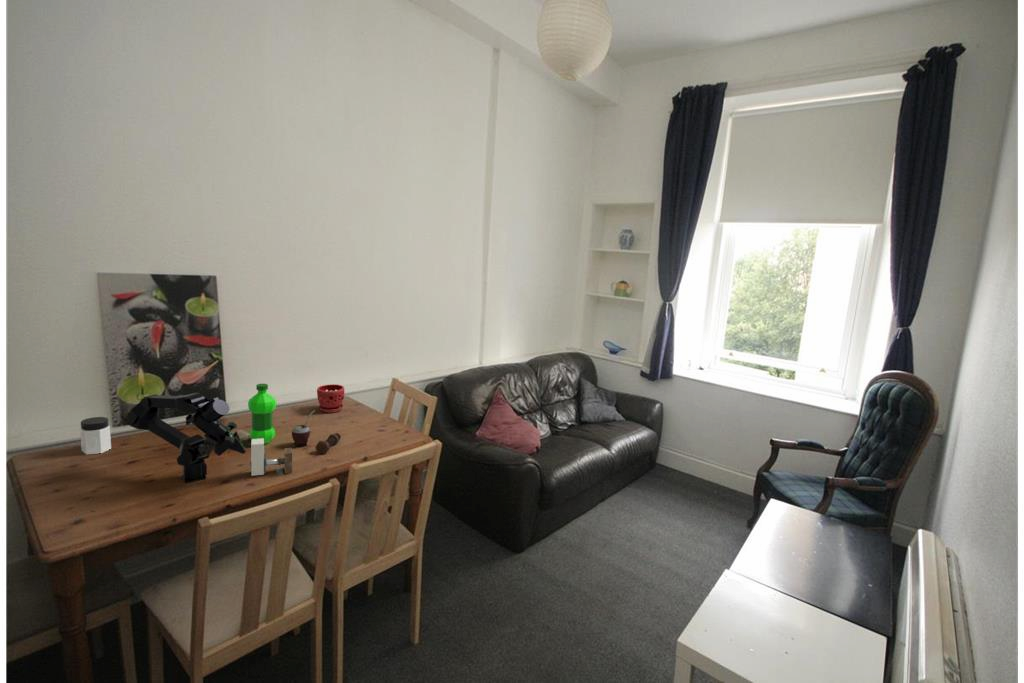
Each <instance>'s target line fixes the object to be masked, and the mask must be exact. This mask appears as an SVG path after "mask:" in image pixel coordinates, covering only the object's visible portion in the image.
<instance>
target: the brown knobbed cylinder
mask: <svg viewBox="0 0 1024 683" xmlns="http://www.w3.org/2000/svg"><path fill="white" fill-rule="evenodd" d="M341 439H342V436H341V435H340V433H338V432H337V433H336V432H335V433H331V434H330V435H329V436H328V437H327V439H326V440H319V441H318V442H317V443H316V445H315V450H316V452H317V453H318V454H323V455H324V454H325V455H326V454H327V453H329V450H330V449H331V447H332V446H336V445H337V444H338V443H339V442H340V440H341Z"/></svg>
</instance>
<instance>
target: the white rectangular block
mask: <svg viewBox="0 0 1024 683" xmlns="http://www.w3.org/2000/svg"><path fill="white" fill-rule="evenodd" d="M250 446H251V448H250V449H251V453H250V455H251V459H250V461H251V467H250V468H251V477H252V476H253V477H254V476H262V475H263V476H264V474H265V473H266V471H267V468H266V467H267V466H266V460H267V454H266V453H265V444H264V438H261V439H251V444H250Z"/></svg>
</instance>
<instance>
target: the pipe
mask: <svg viewBox="0 0 1024 683" xmlns="http://www.w3.org/2000/svg"><path fill="white" fill-rule="evenodd" d="M284 464H285V458H284V457H283V458H281V457H278V458H272V459H271V458H270V459H269V458H267V459H266V467H267V466H277V465H278V466H281V465H284ZM249 467H250V468H251V460H250V461H249Z"/></svg>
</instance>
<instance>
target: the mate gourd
mask: <svg viewBox="0 0 1024 683" xmlns="http://www.w3.org/2000/svg"><path fill="white" fill-rule="evenodd" d="M315 411H316V410H315V409H314V410H313V411H311V412H310V413H309V414H308V416H307V420H306V421H305V423H304V424H298V425H296V426H294V427H293V428H292V431H291V437H292V440H293V444H294V445H295V446H294V448H296V447H297V448H299V447H308V441H309V438H310V435H311V433H310V432H311V431H310V428H309V427H308V426H307V424H308V422H309V419H310V417H311V415H312V414H313V413H315ZM301 445H302V446H301Z"/></svg>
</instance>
